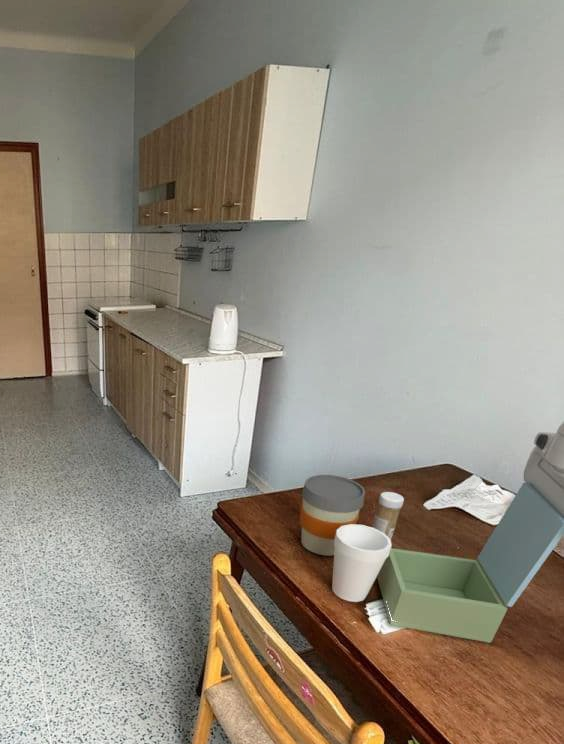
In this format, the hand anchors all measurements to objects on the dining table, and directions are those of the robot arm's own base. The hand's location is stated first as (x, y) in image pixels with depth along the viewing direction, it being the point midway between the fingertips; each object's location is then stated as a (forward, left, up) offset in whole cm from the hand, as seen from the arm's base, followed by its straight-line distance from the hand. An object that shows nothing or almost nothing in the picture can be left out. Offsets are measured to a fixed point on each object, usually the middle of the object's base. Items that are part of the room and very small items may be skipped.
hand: (548, 532), depth 77 cm
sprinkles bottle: (+18, -19, -20) cm, 33 cm away
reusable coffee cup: (+30, -17, -20) cm, 40 cm away
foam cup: (+26, -1, -20) cm, 33 cm away
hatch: (+4, 0, -3) cm, 5 cm away
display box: (+12, 0, -20) cm, 23 cm away
